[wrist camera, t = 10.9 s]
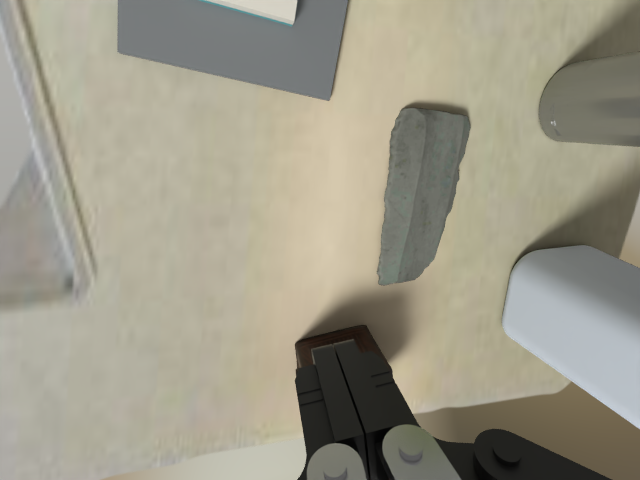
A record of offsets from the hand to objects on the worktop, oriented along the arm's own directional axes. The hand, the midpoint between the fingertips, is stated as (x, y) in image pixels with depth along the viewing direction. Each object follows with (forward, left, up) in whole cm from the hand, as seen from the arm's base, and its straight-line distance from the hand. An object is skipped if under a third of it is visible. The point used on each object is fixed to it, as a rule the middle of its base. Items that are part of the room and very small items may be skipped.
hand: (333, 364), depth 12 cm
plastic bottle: (-28, +34, -29) cm, 53 cm away
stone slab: (-15, +11, -29) cm, 35 cm away
